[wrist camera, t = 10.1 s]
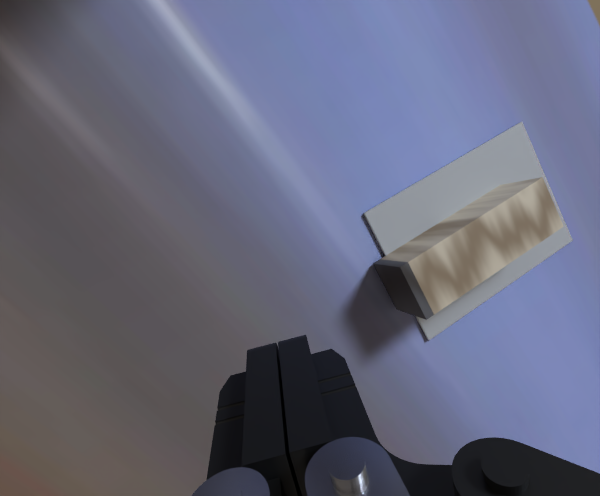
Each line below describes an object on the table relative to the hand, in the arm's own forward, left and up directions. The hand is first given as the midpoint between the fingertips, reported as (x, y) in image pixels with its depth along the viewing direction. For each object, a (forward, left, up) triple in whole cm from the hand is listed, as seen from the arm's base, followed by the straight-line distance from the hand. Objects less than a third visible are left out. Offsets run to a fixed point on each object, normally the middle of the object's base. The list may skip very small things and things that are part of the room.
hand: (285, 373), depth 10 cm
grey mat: (+8, +24, -24) cm, 34 cm away
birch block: (+8, +12, -21) cm, 25 cm away
